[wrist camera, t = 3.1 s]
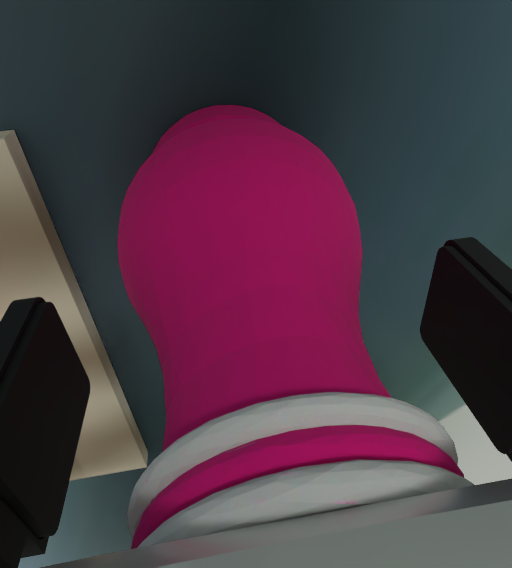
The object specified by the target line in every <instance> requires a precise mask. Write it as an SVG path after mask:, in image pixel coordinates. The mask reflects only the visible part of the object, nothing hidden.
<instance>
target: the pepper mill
mask: <svg viewBox="0 0 512 568" xmlns="http://www.w3.org/2000/svg"><path fill="white" fill-rule="evenodd" d="M117 243H118V260H119V266H120V270H121V274H122V277H123V281H124V285H125V288H126V291H127V294H128V297H129V299H130V302H131V304H132V305H133V307H134V308H135V310H136V312H137V313H138V315H139V317H140V318H141V320H142V322H143V323H144V325H145V326H146V328H147V331H148V333H149V335H150V337H151V339H152V341H153V343H154V345H155V348H156V350H157V354H158V358H159V361H160V365H161V369H162V373H163V377H164V393H165V410H166V425H165V433H164V442H163V450H162V453H161V454H160V455H159V456H158V457H156V458H155V459H154V460H153V462H152V463H151V464H150V465H149V466H148V467H147V469H146V470H145V471H144V472H143V473H142V475H141V477H140V478H139V480H138V481H137V483H136V485H135V487H134V489H133V492H132V495H131V498H130V501H129V507H128V512H127V521H128V529H129V531H130V533H131V536H132V538H133V541H132V547H131V549H135V548H140V547H145V546H151V545H156V544H161V543H166V542H172V541H177V540H182V539H187V538H193V537H198V536H203V535H209V534H214V533H219V532H224V531H230V530H235V529H240V528H245V527H251V526H256V525H261V524H267V523H272V522H278V521H283V520H288V519H294V518H299V517H305V516H310V515H315V514H321V513H326V512H331V511H337V510H342V509H348V508H353V507H359V506H364V505H369V504H375V503H380V502H386V501H391V500H397V499H402V498H408V497H413V496H419V495H424V494H430V493H435V492H441V491H446V490H452V489H458V488H463V487H469V486H474V484H472V483H471V482H470V481H468V480H467V479H465V478H464V474H463V473H462V471H461V470H460V469H459V467H458V466H457V463H458V457H457V453H456V449H455V445H454V442H453V440H452V439H451V437H450V436H449V435H448V433H447V431H446V430H445V428H444V427H443V426H442V425H441V424H440V423H439V422H438V421H437V420H436V419H435V418H434V417H433V416H431V415H429V414H428V413H426V412H425V411H423V410H422V409H420V408H417V407H415V406H413V405H411V404H408V403H406V402H404V401H400V400H396V399H393V398H392V397H391V396H390V394H389V393H388V391H387V390H386V388H385V387H384V386H383V384H382V383H381V381H380V379H379V377H378V374H377V372H376V370H375V368H374V365H373V363H372V361H371V358H370V356H369V354H368V351H367V349H366V347H365V345H364V342H363V338H362V332H361V327H360V321H359V290H360V279H361V267H362V253H363V252H362V244H361V236H360V228H359V222H358V218H357V213H356V208H355V204H354V202H353V200H352V198H351V196H350V194H349V192H348V190H347V188H346V186H345V184H344V182H343V180H342V178H341V176H340V174H339V173H338V171H337V170H336V168H335V167H334V165H333V163H332V162H331V161H330V160H329V158H328V157H327V156H326V155H325V154H324V153H323V152H322V151H321V150H320V149H319V148H318V147H317V146H315V145H314V144H313V143H311V142H310V141H309V140H307V139H306V138H305V137H303V136H301V135H299V134H297V133H296V132H294V131H292V130H290V129H288V128H286V127H284V126H282V125H281V124H279V123H278V122H277V121H275V120H274V119H273V118H271V117H269V116H268V115H266V114H264V113H262V112H260V111H257V110H255V109H253V108H249V107H243V106H238V105H214V106H210V107H206V108H202V109H199V110H197V111H195V112H192V113H190V114H187V115H186V116H185V117H183V118H182V119H180V120H179V121H178V122H176V123H175V124H174V125H172V126H171V127H170V128H169V129H168V130H167V131H166V132H165V134H164V135H163V136H162V137H161V138H160V140H159V141H158V143H157V145H156V146H155V148H154V150H153V153H152V155H151V156H149V157H148V159H147V160H146V161H145V162H144V163H143V164H142V166H141V167H140V168H139V170H138V172H137V173H136V175H135V177H134V178H133V180H132V182H131V184H130V185H129V187H128V189H127V192H126V195H125V198H124V201H123V204H122V207H121V214H120V221H119V231H118V241H117Z"/></svg>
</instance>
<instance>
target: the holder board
mask: <svg viewBox="0 0 512 568" xmlns="http://www.w3.org/2000/svg"><path fill="white" fill-rule="evenodd" d="M34 297H42V298H43V299H44V300H45V301H46V302H52V303H53V304H54V306H55V308H56V310H57V312H58V314H59V316H60V318H61V320H62V323H63V325H64V327H65V329H66V331H67V333H68V335H69V337H70V339H71V342H72V344H73V346H74V348H75V350H76V352H77V354H78V356H79V359H80V361H81V363H82V365H83V367H84V369H85V371H86V373H87V375H88V378H89V381H90V395H89V399H88V404H87V408H86V412H85V416H84V421H83V425H82V429H81V433H80V438H79V442H78V446H77V450H76V455H75V459H74V463H73V467H72V472H71V476H70V480H76V479H82V478H88V477H93V476H99V475H105V474H111V473H117V472H122V471H128V470H134V469H140V468H146V467H147V459H148V451H147V449H146V446H145V444H144V442H143V439H142V437H141V434H140V432H139V430H138V427H137V425H136V422H135V420H134V417H133V415H132V413H131V410H130V408H129V405H128V403H127V401H126V398H125V396H124V393H123V391H122V389H121V386H120V384H119V381H118V379H117V377H116V374H115V372H114V369H113V367H112V364H111V362H110V360H109V357H108V355H107V352H106V350H105V348H104V345H103V343H102V340H101V338H100V336H99V333H98V331H97V328H96V326H95V324H94V321H93V319H92V316H91V314H90V311H89V309H88V307H87V304H86V302H85V299H84V297H83V295H82V292H81V290H80V287H79V285H78V283H77V280H76V278H75V275H74V273H73V271H72V268H71V266H70V263H69V261H68V259H67V256H66V254H65V251H64V249H63V246H62V244H61V242H60V239H59V237H58V234H57V232H56V230H55V227H54V225H53V222H52V220H51V218H50V215H49V213H48V210H47V208H46V206H45V203H44V201H43V198H42V196H41V193H40V191H39V189H38V186H37V184H36V181H35V179H34V177H33V174H32V172H31V169H30V167H29V165H28V162H27V160H26V157H25V155H24V153H23V150H22V148H21V145H20V143H19V141H18V138H17V136H16V133H15V131H14V130H7V131H0V321H1V319H2V318H3V316H4V314H5V312H6V310H7V309H8V307H9V305H10V304H11V302H12V301H14V300H19V299H27V298H34ZM70 480H69V481H70Z"/></svg>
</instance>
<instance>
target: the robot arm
mask: <svg viewBox="0 0 512 568" xmlns="http://www.w3.org/2000/svg"><path fill="white" fill-rule="evenodd" d="M420 333H421V337H422V340H423V341H424V343H425V344H426V346H427V347H428V349H429V350H430V352H431V353H432V355H433V356H434V358H435V359H436V361H437V362H438V364H439V365H440V366H441V368H442V369H443V371H444V372H445V374H446V375H447V377H448V378H449V380H450V381H451V383H452V384H453V386H454V387H455V388H456V390H457V391H458V393H459V394H460V396H461V397H462V399H463V400H464V402H465V403H466V405H467V406H468V407H469V409H470V410H471V412H472V413H473V415H474V416H475V418H476V419H477V421H478V422H479V424H480V425H481V426H482V428H483V429H484V431H485V432H486V434H487V435H488V437H489V438H490V440H491V441H492V443H493V444H494V446H495V447H496V448H497V449H498V451H500V452H501V453H503V454H507V456H508V457H509V459H510V460H511V461H512V269H510V268H509V267H508V266H507V265H506V264H505V263H503V262H502V261H501V260H500V259H499V258H498V257H496V256H495V255H494V254H493V253H492V252H490V251H489V250H488V249H487V248H486V247H485V246H483V245H482V244H481V243H480V242H479V241H478V240H476V239H475V238H473V237H468V238H461V239H454V240H448V241H446V243H445V244H444V246H443V247H441V248H440V249H439V250H438V252H437V256H436V261H435V265H434V269H433V274H432V278H431V282H430V287H429V291H428V295H427V300H426V304H425V308H424V313H423V317H422V321H421V326H420ZM89 395H90V381H89V378H88V375H87V373H86V371H85V369H84V367H83V365H82V363H81V361H80V359H79V356H78V354H77V352H76V350H75V348H74V346H73V344H72V342H71V339H70V337H69V335H68V333H67V331H66V329H65V327H64V325H63V323H62V320H61V318H60V316H59V314H58V312H57V310H56V308H55V306H54V304H53V303H52V302H46V301H45V300H44V299H43V298H42V297H34V298H27V299H19V300H14V301H12V302H11V304H10V305H9V307H8V309H7V310H6V312H5V314H4V316H3V318H2V319H1V321H0V568H18V565H19V562H20V558H24V557H29V556H35V555H40V554H45V550H46V546H47V542H48V538H49V536H52V535H54V534H55V533H56V531H57V529H58V526H59V522H60V518H61V514H62V510H63V505H64V501H65V497H66V493H67V488H68V484H69V480H70V476H71V472H72V467H73V463H74V459H75V455H76V450H77V446H78V442H79V438H80V433H81V429H82V425H83V421H84V416H85V412H86V408H87V404H88V399H89ZM41 568H512V479H508V480H502V481H497V482H491V483H486V484H480V485H474V486H469V487H463V488H458V489H452V490H446V491H441V492H435V493H430V494H424V495H419V496H413V497H408V498H402V499H397V500H391V501H386V502H380V503H375V504H369V505H364V506H359V507H353V508H348V509H342V510H337V511H331V512H326V513H321V514H315V515H310V516H305V517H299V518H294V519H288V520H283V521H278V522H272V523H267V524H261V525H256V526H251V527H245V528H240V529H235V530H230V531H224V532H219V533H214V534H209V535H203V536H198V537H193V538H187V539H182V540H177V541H172V542H166V543H161V544H156V545H151V546H145V547H140V548H135V549H130V550H124V551H119V552H114V553H109V554H103V555H99V556H94V557H89V558H84V559H79V560H75V561H70V562H65V563H60V564H55V565H51V566H46V567H41Z"/></svg>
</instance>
